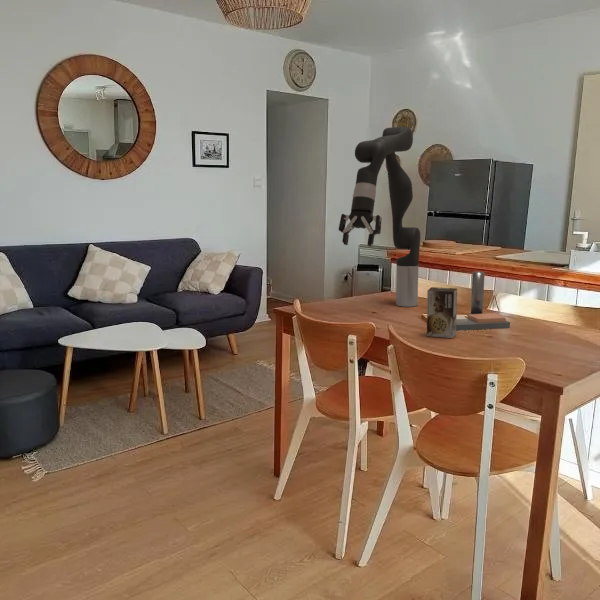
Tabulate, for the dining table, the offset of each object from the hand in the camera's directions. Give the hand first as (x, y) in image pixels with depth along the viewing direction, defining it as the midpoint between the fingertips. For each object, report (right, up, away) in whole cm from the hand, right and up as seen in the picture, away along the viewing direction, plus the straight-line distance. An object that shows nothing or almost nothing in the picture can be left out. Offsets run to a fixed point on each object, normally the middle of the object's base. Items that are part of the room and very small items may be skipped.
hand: (357, 245), depth 195 cm
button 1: (+38, -27, +14) cm, 48 cm away
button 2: (+49, -26, +16) cm, 58 cm away
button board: (+44, -28, +16) cm, 55 cm away
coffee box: (+29, -31, +3) cm, 42 cm away
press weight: (+48, -26, +27) cm, 61 cm away
